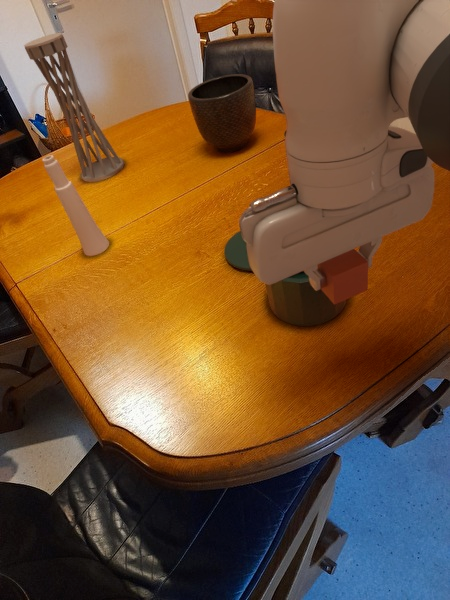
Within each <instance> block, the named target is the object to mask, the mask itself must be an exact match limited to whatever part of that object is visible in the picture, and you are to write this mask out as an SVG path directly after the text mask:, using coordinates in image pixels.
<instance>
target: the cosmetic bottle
mask: <svg viewBox="0 0 450 600" xmlns="http://www.w3.org/2000/svg"><path fill="white" fill-rule="evenodd" d="M42 163H44V164H43V167H44V169H45V171H46V173H47V174H48V176H49V178H50V179H51V181H52V183H53V185H54V191H55V193H56V195H57V197H58V199H59V201H60V204H61V205H62V208H63V209H64V212H65V213H66V216H67V217H68V219H69V221H70V223H71V225H72V227H73V229H74V231H75V234H76V236H77V239H78V240H79V243H80V245H81V249H82V252H83V253H84V255H85V256H87V257H95V256H98V255H100V254H102V253H104V252H105V251H106V250H108V248H109V247H110V241H109V240H108V238H107V237H106V236H105V234H104V233H103V232H102V230H101V228H100V227H99V226H98V224H97V223H96V221H95V220H94V218H93V216H92V214H91V213H90V211H89V209H88V208H87V206H86V204H85V203H84V201H83V199H82V197H81V195H80V194H79V192H78V190H77V189H76V187H75V186H74V184H73V182H72V181H71V180H69V179H68V178H67V176H66V174H65V172H64V170H63V168H62V166H61V165H60V163H59V161H58V159H55V156H54V155H52V154H50V155H46V156H44V157H42Z"/></svg>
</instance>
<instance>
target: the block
mask: <svg viewBox="0 0 450 600" xmlns="http://www.w3.org/2000/svg"><path fill="white" fill-rule="evenodd" d="M357 251H358V250H356V248H355V249H353V250H350V251H348V252H346V253H343V254H341V255H339V256H336V257H334V258H332V259H329V260H327V261H325V262H322V263H320V264H318V265H317V267H318V268H320V269H321V271H322V273H324V274H325V275H326V276H327V284H328V286H326V287H324V288H322V289H321V290H322V291H323V292H324V293H325V294H326V296H327V297H328V298H329V299H330V300H331V301H332V303H333V304H334V305H335V304H337V303H340V302H342V301H344V300H346V301H347V300H349V299H351V298H353V297H356V296H357V295H360V294H362V293H364V292H367V291H368V290H369V289H368V287H369V268H368V261H367V260H366V259H365V258H364V257H362V256H361V255H360V254H359V253H358V252H357Z"/></svg>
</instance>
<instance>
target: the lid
mask: <svg viewBox="0 0 450 600" xmlns="http://www.w3.org/2000/svg"><path fill="white" fill-rule="evenodd" d="M224 256H225V259H226V261H227V262H228V263H229V265H231V266H232V267H234V268H236V269H239V270H242V271H250V272H253V271H252V269H251V267H250V265H249V261H248V255H247V246H246V242H245V241H244V240H243V238H242V234H241V230H239V231H238V232H236V233H235V234H233V235H232V236H231V237H230V238H229V239H228V241H226V244H225V245H224Z"/></svg>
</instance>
